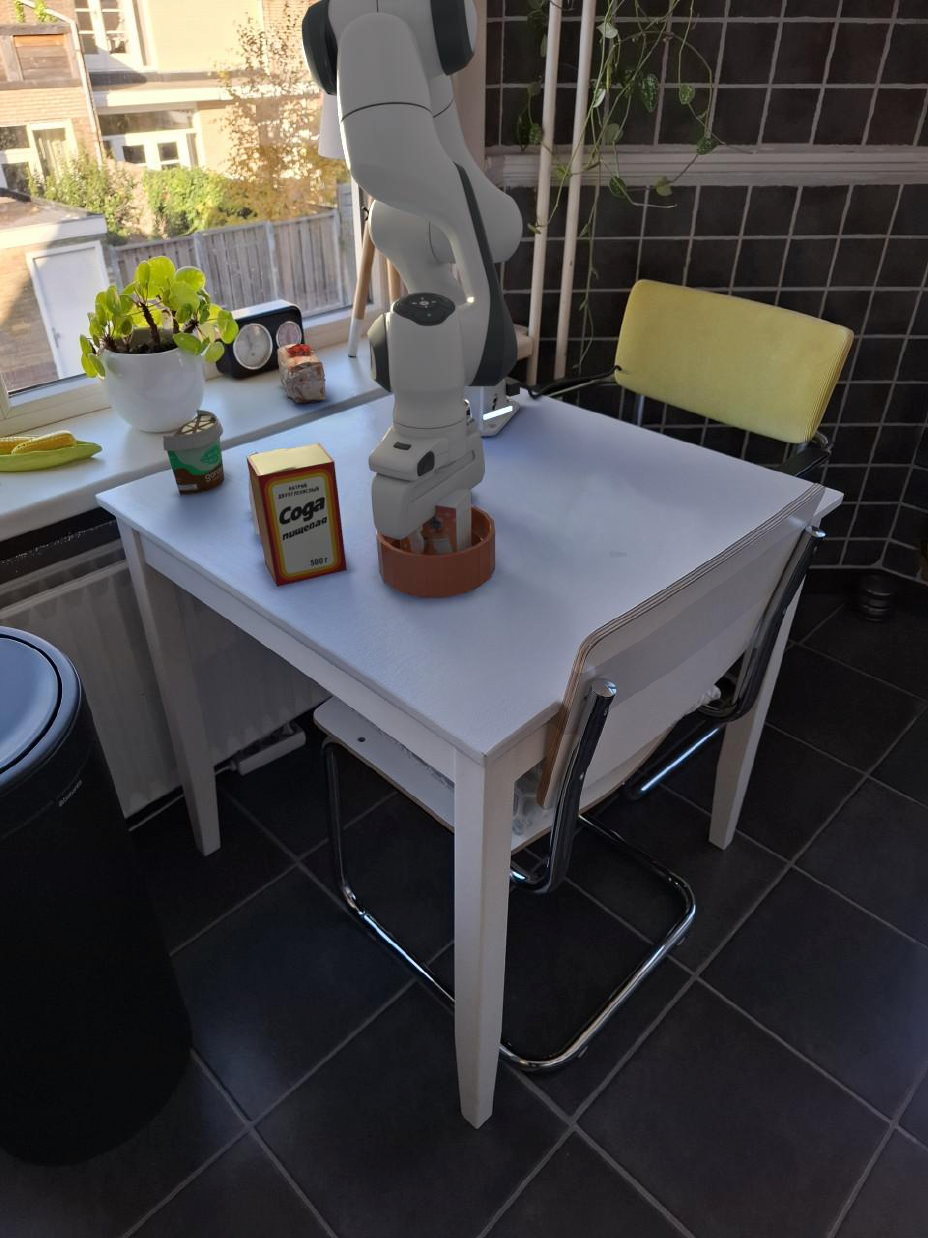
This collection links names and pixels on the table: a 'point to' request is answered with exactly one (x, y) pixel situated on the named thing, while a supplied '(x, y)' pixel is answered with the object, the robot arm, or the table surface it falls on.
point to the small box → (447, 525)
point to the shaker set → (253, 507)
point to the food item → (301, 373)
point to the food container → (196, 454)
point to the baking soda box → (298, 512)
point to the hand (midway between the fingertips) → (435, 538)
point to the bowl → (440, 563)
